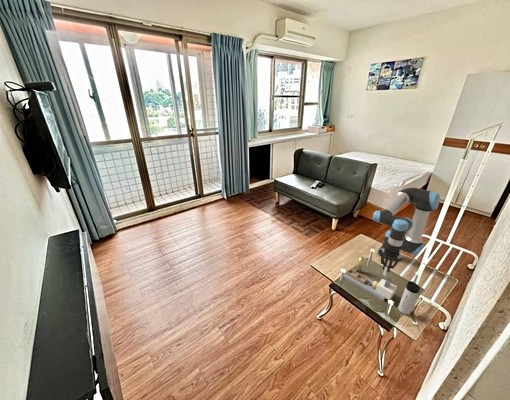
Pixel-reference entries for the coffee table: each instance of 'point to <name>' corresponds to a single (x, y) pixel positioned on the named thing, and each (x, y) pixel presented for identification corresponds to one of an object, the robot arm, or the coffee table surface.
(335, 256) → the coffee table surface
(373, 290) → the board
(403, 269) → the coffee table surface
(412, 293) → the travel mug
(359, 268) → the brass pin
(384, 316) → the coffee table surface
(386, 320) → the coffee table surface
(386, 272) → the robot arm
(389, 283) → the cover
